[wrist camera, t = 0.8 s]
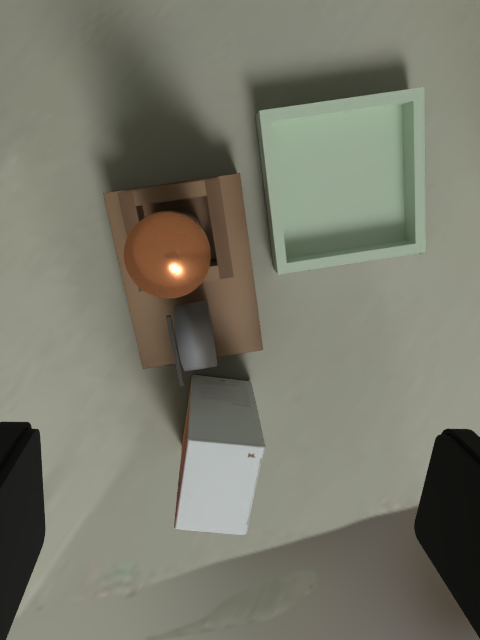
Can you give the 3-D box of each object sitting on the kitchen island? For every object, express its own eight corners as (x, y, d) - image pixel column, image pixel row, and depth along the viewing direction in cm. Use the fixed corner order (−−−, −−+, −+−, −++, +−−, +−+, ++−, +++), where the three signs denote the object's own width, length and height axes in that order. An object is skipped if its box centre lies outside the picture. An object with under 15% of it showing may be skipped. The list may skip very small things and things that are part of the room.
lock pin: (204, 197, 33) (203, 206, 22) (213, 256, 34) (216, 291, 23) (145, 206, 33) (115, 219, 22) (156, 264, 34) (133, 304, 23)
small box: (191, 372, 40) (186, 436, 30) (252, 379, 41) (267, 445, 31) (180, 448, 43) (172, 531, 33) (237, 454, 43) (247, 538, 33)
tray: (409, 93, 34) (424, 86, 32) (411, 247, 38) (425, 252, 36) (255, 115, 34) (259, 110, 32) (273, 268, 38) (277, 274, 35)
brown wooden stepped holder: (237, 173, 35) (245, 172, 27) (259, 337, 40) (271, 377, 32) (111, 191, 35) (83, 196, 27) (147, 355, 39) (132, 399, 31)
